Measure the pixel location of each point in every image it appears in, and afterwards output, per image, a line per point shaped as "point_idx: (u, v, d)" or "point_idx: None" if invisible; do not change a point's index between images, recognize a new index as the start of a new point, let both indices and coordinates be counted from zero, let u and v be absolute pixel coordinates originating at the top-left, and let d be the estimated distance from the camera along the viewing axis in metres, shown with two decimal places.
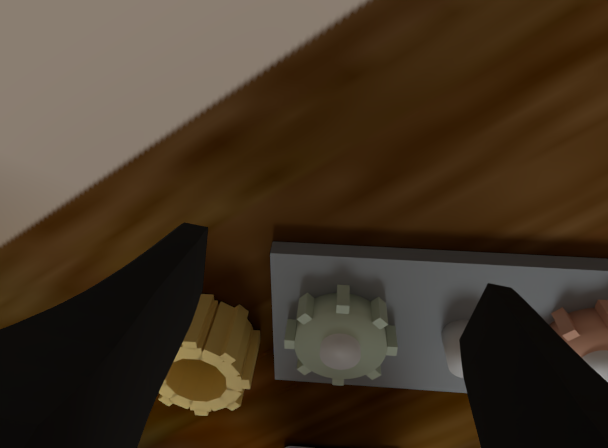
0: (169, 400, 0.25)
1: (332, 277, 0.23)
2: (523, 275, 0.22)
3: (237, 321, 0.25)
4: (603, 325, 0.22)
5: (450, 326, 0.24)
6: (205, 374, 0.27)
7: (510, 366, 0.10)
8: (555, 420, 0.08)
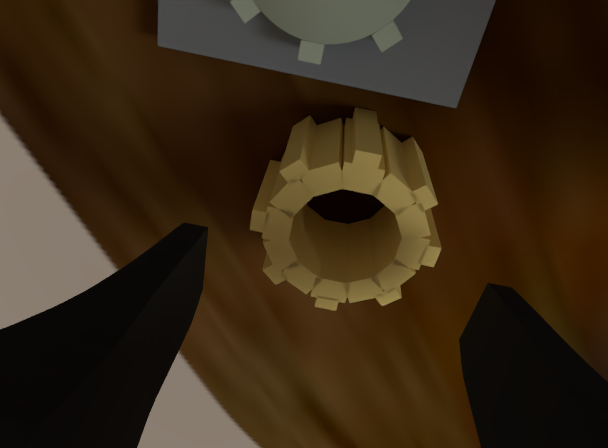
0: (385, 291, 0.15)
1: None
2: None
3: (293, 136, 0.15)
4: None
5: None
6: (392, 221, 0.16)
7: (510, 366, 0.10)
8: (555, 420, 0.08)
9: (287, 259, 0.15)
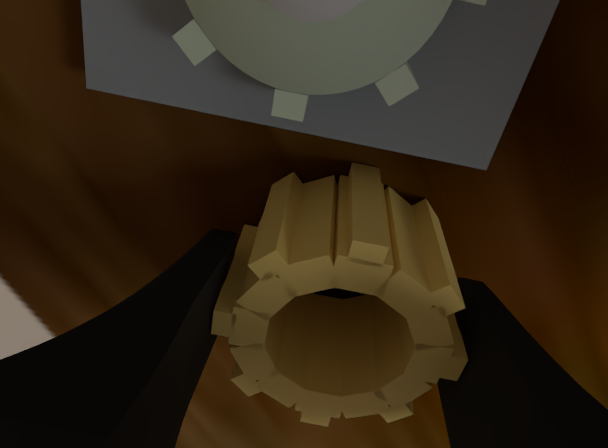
0: (393, 407, 0.11)
1: None
2: None
3: (271, 204, 0.11)
4: None
5: None
6: None
7: (476, 359, 0.10)
8: (514, 412, 0.08)
9: (263, 368, 0.11)
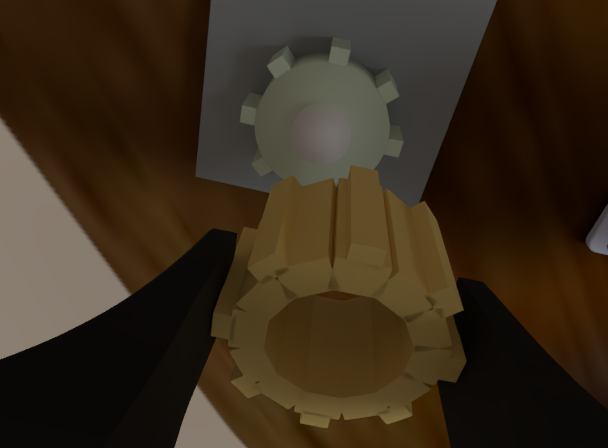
0: (392, 408, 0.11)
1: (235, 112, 0.18)
2: None
3: (270, 206, 0.11)
4: None
5: None
6: None
7: (476, 359, 0.10)
8: (515, 412, 0.08)
9: (262, 370, 0.11)
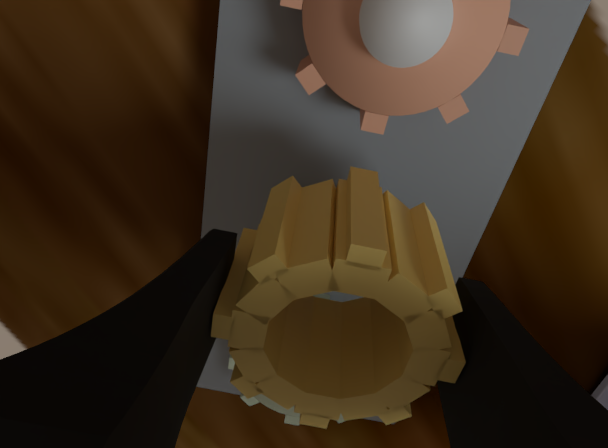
0: (391, 409, 0.11)
1: (224, 341, 0.19)
2: (226, 126, 0.14)
3: (270, 207, 0.11)
4: None
5: None
6: None
7: (476, 359, 0.10)
8: (514, 412, 0.08)
9: (262, 370, 0.11)
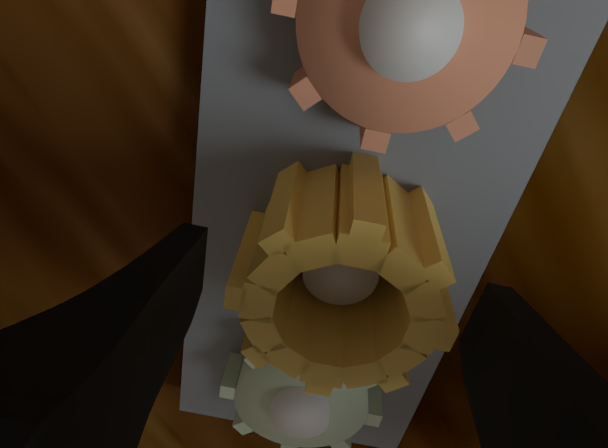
0: (391, 377, 0.12)
1: (216, 365, 0.18)
2: (215, 142, 0.13)
3: (278, 189, 0.12)
4: None
5: None
6: (398, 288, 0.13)
7: (510, 366, 0.10)
8: (555, 420, 0.08)
9: (270, 341, 0.12)
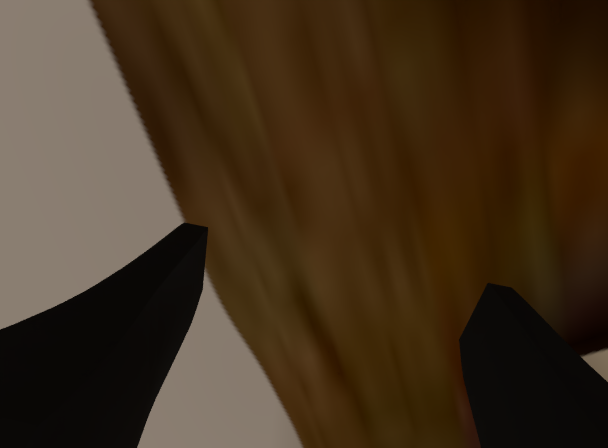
0: None
1: None
2: None
3: None
4: None
5: None
6: None
7: (510, 366, 0.10)
8: (555, 420, 0.08)
9: None
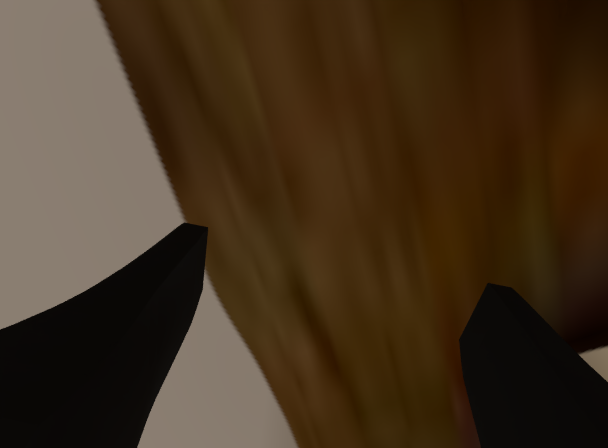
0: None
1: None
2: None
3: None
4: None
5: None
6: None
7: (510, 366, 0.10)
8: (555, 420, 0.08)
9: None
